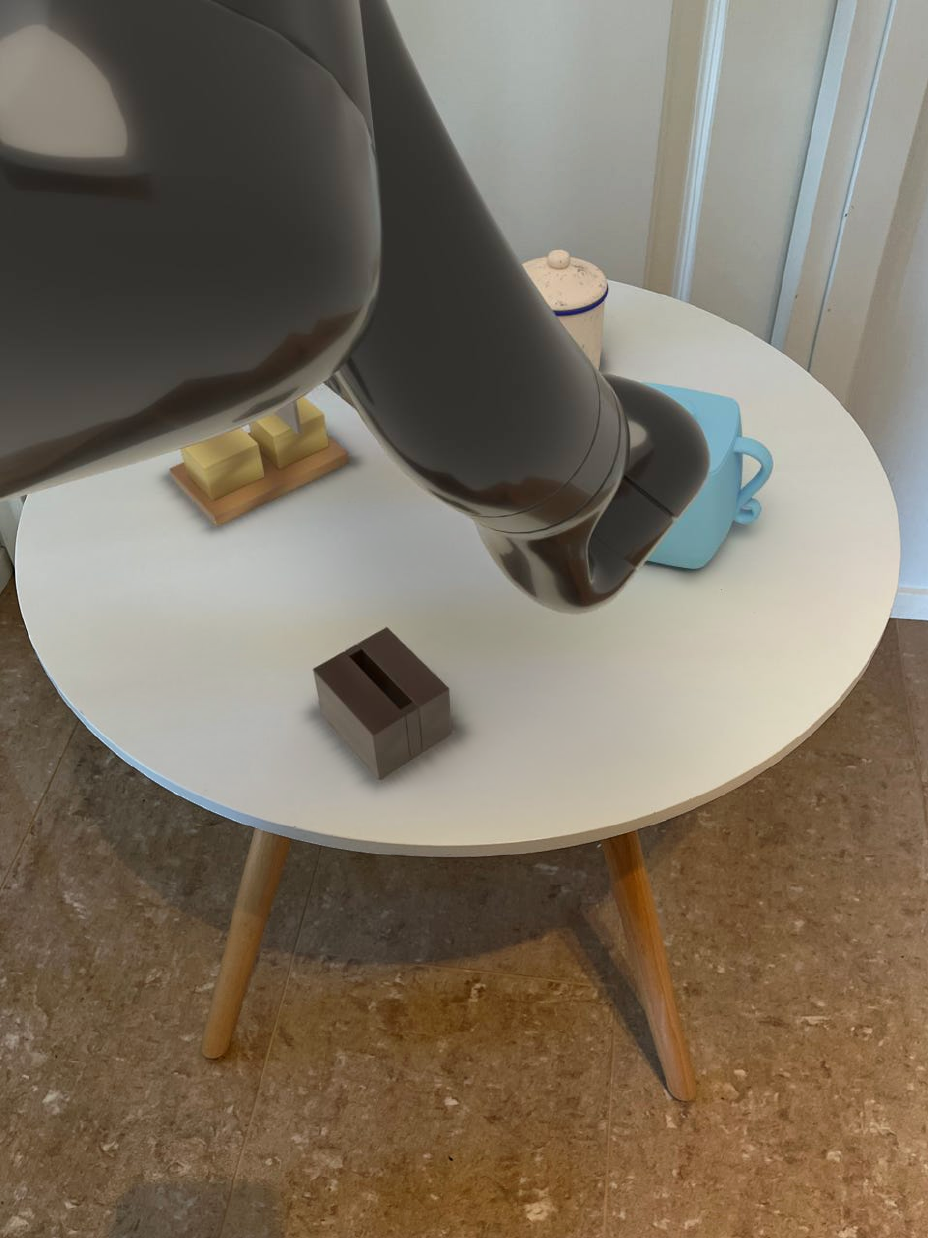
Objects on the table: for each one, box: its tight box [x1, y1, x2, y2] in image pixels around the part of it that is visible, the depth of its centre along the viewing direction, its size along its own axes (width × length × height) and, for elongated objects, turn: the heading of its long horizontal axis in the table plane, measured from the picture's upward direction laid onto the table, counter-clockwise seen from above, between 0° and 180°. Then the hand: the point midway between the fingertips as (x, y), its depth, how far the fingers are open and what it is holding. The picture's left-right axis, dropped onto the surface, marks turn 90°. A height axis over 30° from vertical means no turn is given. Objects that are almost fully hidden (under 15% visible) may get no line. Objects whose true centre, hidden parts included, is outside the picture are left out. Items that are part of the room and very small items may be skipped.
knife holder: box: [312, 626, 452, 781], centre depth 70 cm, size 6×7×5 cm
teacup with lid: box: [521, 249, 609, 371], centre depth 96 cm, size 12×9×12 cm
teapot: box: [641, 381, 774, 570], centre depth 82 cm, size 12×18×12 cm
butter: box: [169, 396, 350, 527], centre depth 90 cm, size 13×8×5 cm, turn 128°
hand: (225, 222), depth 65 cm, fingers closed on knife, 2 cm apart
